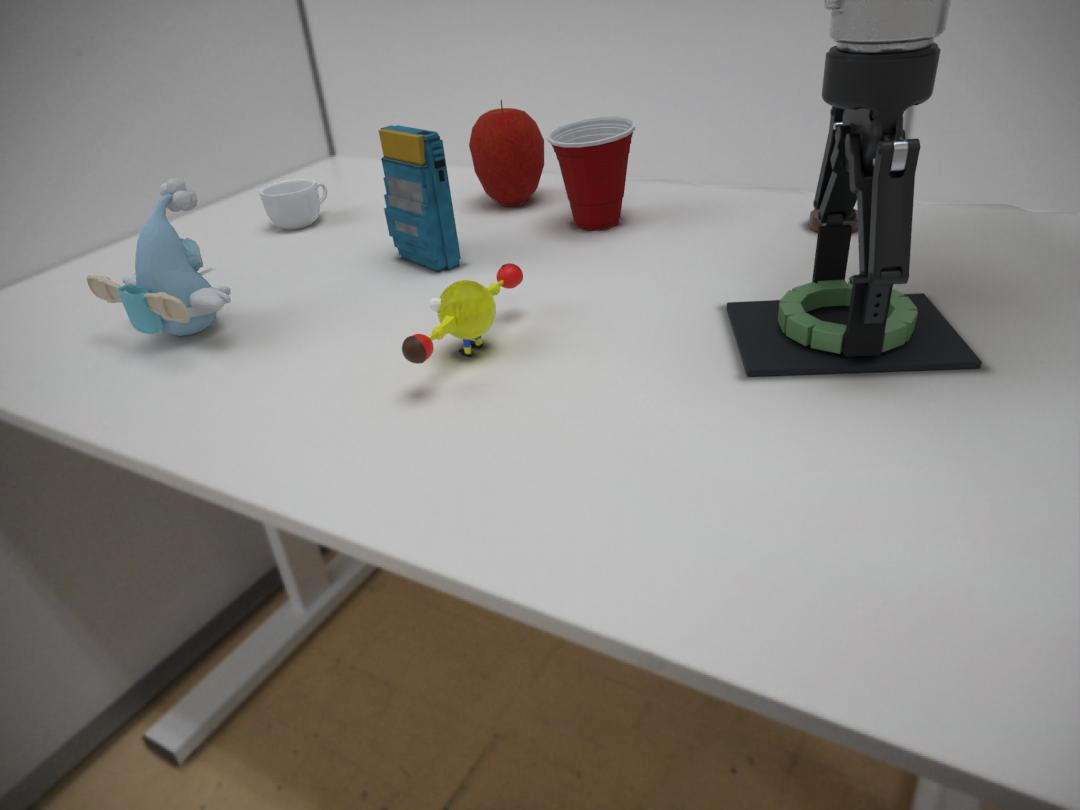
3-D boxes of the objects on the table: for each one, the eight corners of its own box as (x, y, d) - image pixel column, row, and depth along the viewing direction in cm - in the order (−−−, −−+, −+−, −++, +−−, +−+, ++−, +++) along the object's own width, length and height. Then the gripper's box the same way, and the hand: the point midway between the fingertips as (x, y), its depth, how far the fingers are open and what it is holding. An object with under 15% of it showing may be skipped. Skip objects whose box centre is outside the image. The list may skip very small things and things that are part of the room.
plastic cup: (539, 222, 98) (530, 127, 91) (609, 203, 101) (605, 111, 95) (580, 245, 89) (573, 142, 83) (655, 224, 93) (654, 124, 87)
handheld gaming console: (466, 264, 87) (446, 132, 79) (438, 276, 85) (414, 141, 77) (418, 247, 93) (395, 123, 85) (390, 258, 91) (364, 131, 83)
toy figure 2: (495, 306, 77) (486, 243, 73) (542, 313, 74) (536, 248, 71) (389, 393, 64) (372, 322, 60) (442, 405, 61) (428, 332, 58)
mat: (922, 298, 70) (923, 292, 69) (980, 368, 59) (982, 361, 58) (726, 307, 72) (726, 302, 71) (747, 376, 61) (748, 370, 60)
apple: (562, 196, 106) (555, 92, 99) (517, 218, 100) (505, 109, 92) (508, 188, 112) (497, 89, 105) (462, 208, 106) (447, 104, 98)
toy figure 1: (284, 323, 78) (240, 180, 70) (198, 369, 71) (138, 216, 63) (189, 298, 86) (140, 167, 78) (103, 337, 79) (40, 197, 71)
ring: (889, 295, 68) (892, 276, 68) (932, 351, 59) (936, 331, 58) (769, 300, 70) (770, 283, 69) (792, 357, 61) (794, 337, 60)
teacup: (291, 237, 101) (280, 198, 99) (259, 229, 106) (247, 191, 103) (348, 214, 108) (339, 177, 105) (315, 208, 112) (306, 172, 109)
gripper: (794, 28, 63) (773, 271, 75) (877, 74, 43) (831, 394, 55) (887, 19, 62) (851, 267, 74) (1014, 63, 43) (937, 390, 54)
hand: (842, 321), depth 65 cm, fingers closed on ring, 11 cm apart
